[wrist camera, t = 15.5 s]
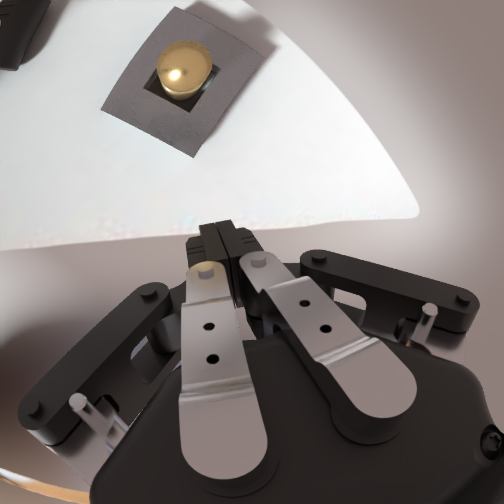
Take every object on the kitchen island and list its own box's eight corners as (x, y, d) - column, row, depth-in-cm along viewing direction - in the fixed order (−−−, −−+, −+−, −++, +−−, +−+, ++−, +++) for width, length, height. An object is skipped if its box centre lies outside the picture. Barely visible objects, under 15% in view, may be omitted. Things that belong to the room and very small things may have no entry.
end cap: (27, 72, 19) (0, 67, 13) (-6, 70, 16) (-33, 67, 10) (59, 5, 16) (40, -11, 10) (23, 6, 13) (2, -7, 7)
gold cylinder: (155, 89, 26) (145, 74, 17) (176, 59, 25) (177, 32, 16) (186, 106, 28) (191, 98, 19) (207, 76, 27) (223, 56, 18)
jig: (108, 110, 26) (100, 109, 23) (174, 16, 22) (174, 6, 19) (191, 154, 31) (193, 158, 28) (256, 62, 27) (264, 57, 24)
